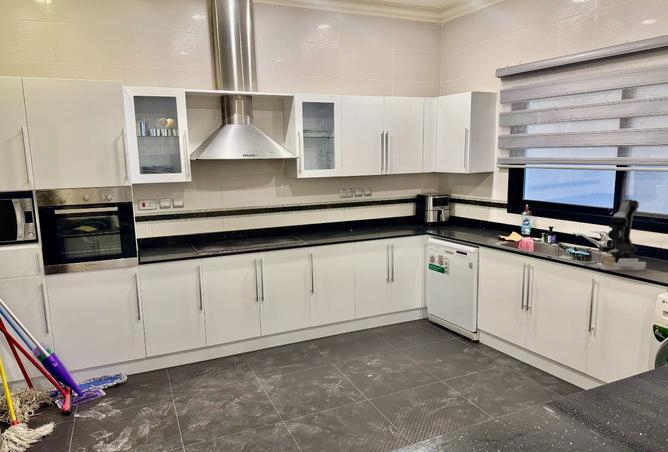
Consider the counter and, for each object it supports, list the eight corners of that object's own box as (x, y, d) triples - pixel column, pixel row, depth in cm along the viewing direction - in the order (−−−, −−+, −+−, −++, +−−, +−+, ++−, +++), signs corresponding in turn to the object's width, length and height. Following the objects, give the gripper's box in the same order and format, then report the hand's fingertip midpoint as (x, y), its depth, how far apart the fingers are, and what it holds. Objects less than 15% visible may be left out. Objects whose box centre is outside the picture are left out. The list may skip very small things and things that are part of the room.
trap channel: (596, 265, 277) (597, 258, 276) (636, 265, 274) (637, 258, 274) (603, 269, 268) (604, 262, 267) (645, 269, 265) (645, 262, 265)
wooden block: (601, 263, 274) (601, 255, 274) (610, 263, 274) (610, 255, 273) (605, 265, 269) (605, 257, 269) (614, 265, 269) (614, 257, 268)
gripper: (607, 239, 261) (606, 266, 264) (642, 239, 259) (640, 266, 262) (598, 236, 272) (597, 261, 275) (631, 235, 270) (630, 261, 273)
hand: (616, 262), depth 271 cm, fingers closed
